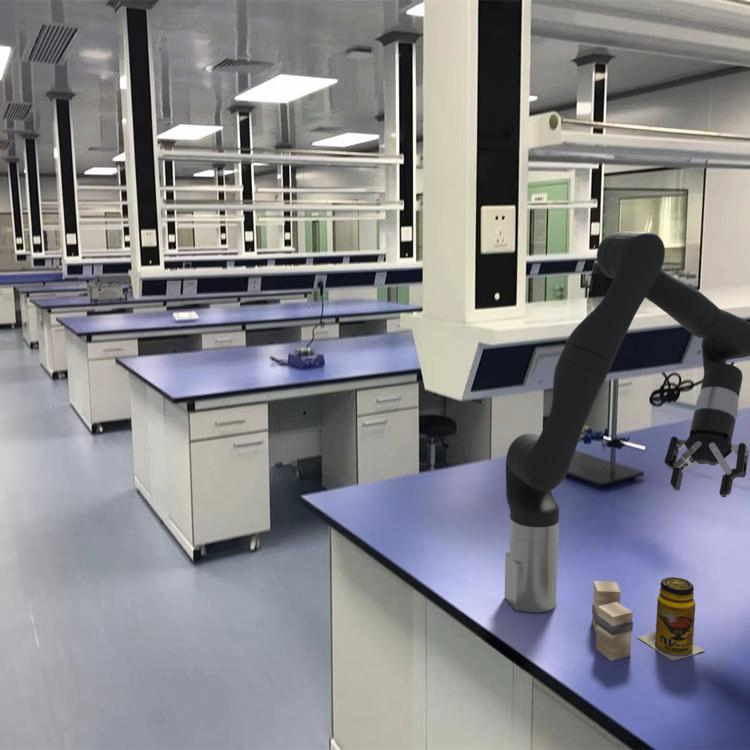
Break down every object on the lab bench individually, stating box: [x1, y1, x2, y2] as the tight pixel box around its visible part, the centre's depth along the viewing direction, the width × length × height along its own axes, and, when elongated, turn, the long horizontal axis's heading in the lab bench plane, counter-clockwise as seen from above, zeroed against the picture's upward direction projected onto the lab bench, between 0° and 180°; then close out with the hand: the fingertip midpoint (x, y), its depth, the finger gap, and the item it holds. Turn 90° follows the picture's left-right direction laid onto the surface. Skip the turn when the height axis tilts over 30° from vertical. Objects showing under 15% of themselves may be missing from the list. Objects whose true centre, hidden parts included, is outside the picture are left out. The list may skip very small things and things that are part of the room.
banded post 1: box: [591, 580, 621, 633], centre depth 135 cm, size 4×4×8 cm
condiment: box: [636, 576, 705, 662], centre depth 128 cm, size 7×8×12 cm
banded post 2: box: [595, 602, 634, 662], centre depth 126 cm, size 4×4×8 cm
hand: (698, 492), depth 139 cm, fingers open, 8 cm apart
